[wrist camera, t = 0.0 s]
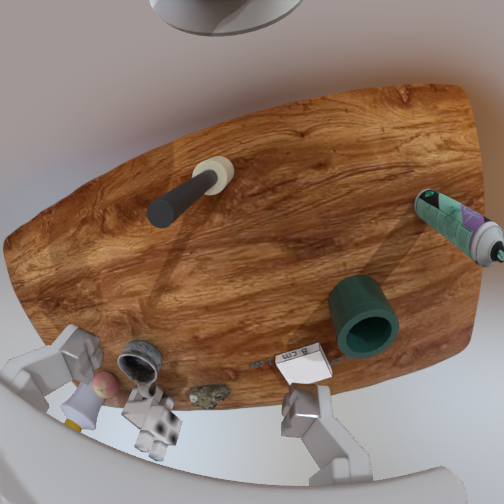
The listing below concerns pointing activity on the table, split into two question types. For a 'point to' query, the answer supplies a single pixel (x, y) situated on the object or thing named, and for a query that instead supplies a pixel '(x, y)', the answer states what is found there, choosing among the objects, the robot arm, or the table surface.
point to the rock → (208, 395)
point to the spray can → (462, 227)
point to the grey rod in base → (191, 191)
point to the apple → (105, 385)
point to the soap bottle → (82, 408)
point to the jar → (362, 317)
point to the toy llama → (153, 422)
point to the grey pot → (141, 365)
